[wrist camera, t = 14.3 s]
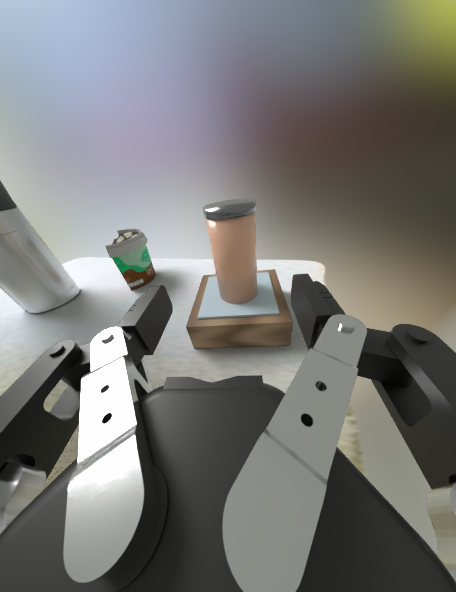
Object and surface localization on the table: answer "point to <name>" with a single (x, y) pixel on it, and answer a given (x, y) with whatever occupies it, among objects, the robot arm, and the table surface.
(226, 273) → the terracotta canister
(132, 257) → the food container
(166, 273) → the table surface
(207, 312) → the walnut riser
